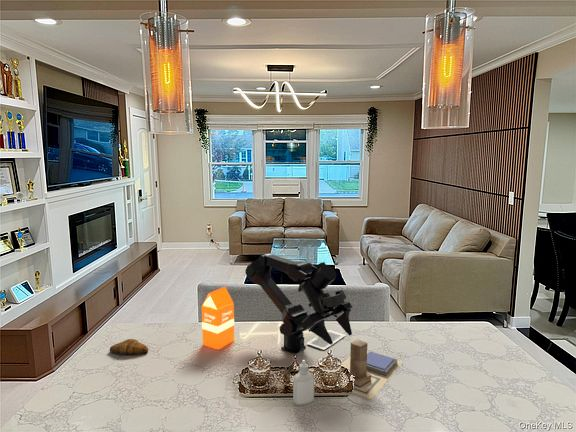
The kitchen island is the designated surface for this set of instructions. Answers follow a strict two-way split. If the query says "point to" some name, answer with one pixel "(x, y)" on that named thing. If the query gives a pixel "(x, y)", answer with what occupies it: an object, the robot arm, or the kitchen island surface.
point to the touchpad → (322, 343)
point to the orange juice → (218, 319)
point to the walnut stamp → (359, 363)
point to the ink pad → (380, 363)
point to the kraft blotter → (372, 381)
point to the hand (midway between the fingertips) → (341, 339)
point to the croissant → (129, 347)
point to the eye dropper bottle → (303, 386)
